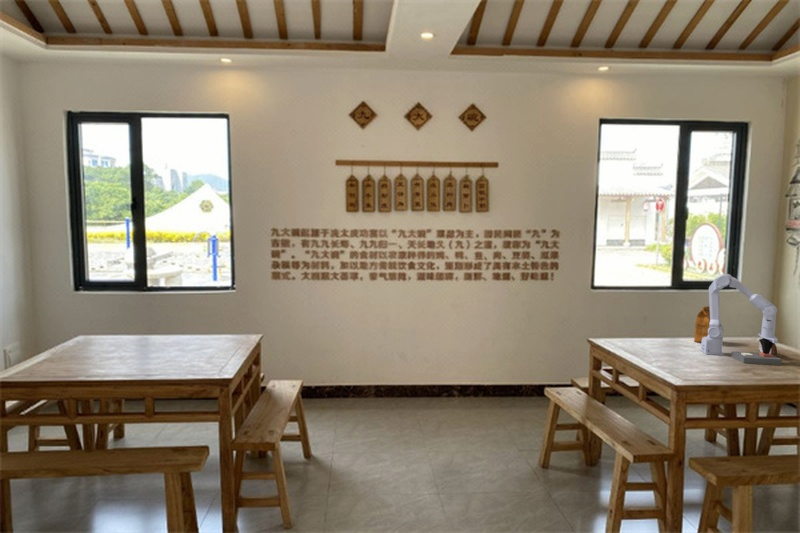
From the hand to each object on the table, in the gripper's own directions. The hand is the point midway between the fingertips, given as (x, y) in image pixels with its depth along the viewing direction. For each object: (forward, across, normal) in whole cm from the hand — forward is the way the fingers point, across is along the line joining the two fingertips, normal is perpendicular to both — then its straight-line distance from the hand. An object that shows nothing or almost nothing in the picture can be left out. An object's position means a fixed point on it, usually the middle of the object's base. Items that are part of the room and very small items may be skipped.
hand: (765, 353), depth 265 cm
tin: (+4, +14, -8) cm, 17 cm away
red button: (+3, 0, 0) cm, 3 cm away
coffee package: (+4, +39, +12) cm, 41 cm away
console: (+4, 0, +4) cm, 6 cm away
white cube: (+4, 0, +9) cm, 10 cm away
